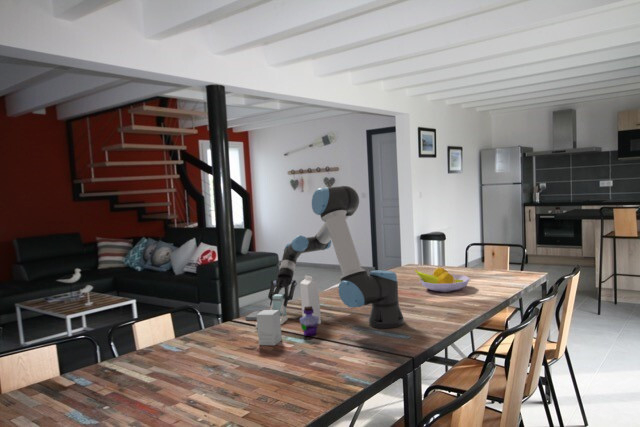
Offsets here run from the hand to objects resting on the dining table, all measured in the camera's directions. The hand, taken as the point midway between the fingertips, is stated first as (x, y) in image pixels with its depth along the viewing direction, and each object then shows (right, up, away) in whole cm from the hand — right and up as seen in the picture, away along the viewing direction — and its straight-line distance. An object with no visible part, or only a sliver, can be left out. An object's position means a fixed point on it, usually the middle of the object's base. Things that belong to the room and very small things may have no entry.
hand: (276, 311), depth 227 cm
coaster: (-9, -4, +7) cm, 12 cm away
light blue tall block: (+1, -3, +4) cm, 5 cm away
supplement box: (0, -6, -33) cm, 33 cm away
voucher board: (-2, -4, -6) cm, 7 cm away
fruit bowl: (+89, +5, +37) cm, 96 cm away
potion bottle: (+17, -4, -26) cm, 31 cm away
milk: (+17, -3, -11) cm, 20 cm away
